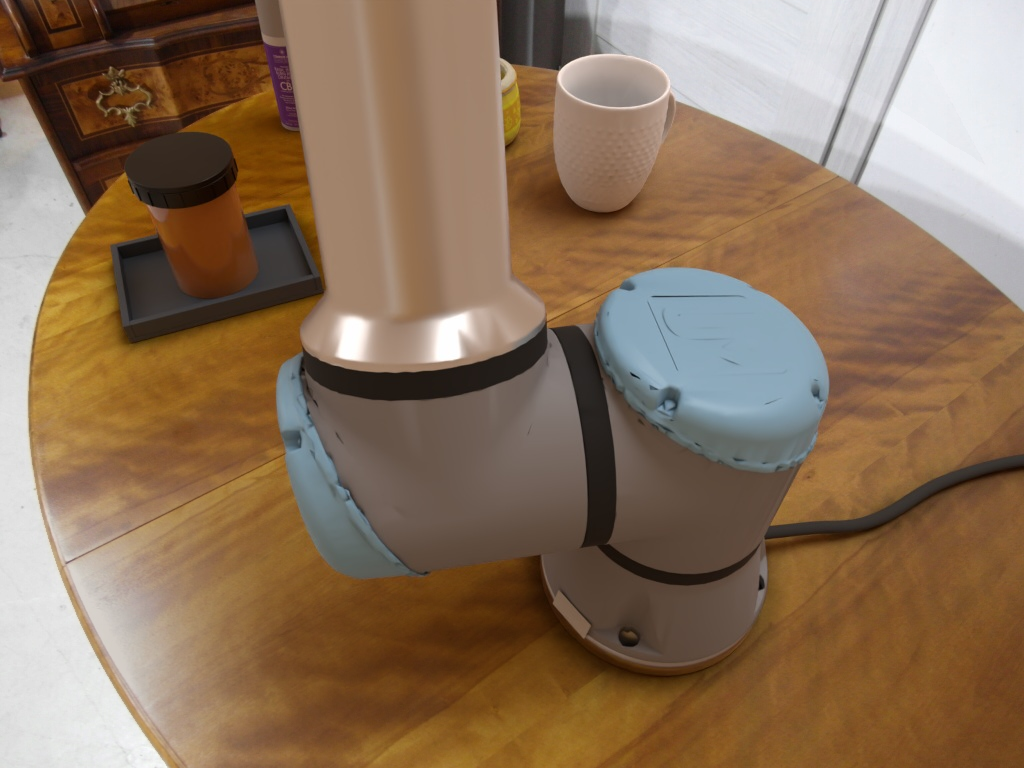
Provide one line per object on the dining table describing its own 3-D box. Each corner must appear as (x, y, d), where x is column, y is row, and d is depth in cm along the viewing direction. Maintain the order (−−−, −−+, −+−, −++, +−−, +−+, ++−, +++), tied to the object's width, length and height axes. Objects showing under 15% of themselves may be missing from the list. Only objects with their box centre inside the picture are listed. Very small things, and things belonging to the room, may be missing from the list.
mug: (626, 144, 90) (642, 32, 81) (696, 188, 85) (723, 72, 75) (528, 189, 84) (532, 73, 74) (597, 239, 78) (612, 121, 69)
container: (288, 135, 91) (259, 3, 79) (276, 117, 93) (246, -14, 82) (326, 125, 92) (303, -6, 81) (313, 107, 95) (289, -22, 84)
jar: (250, 239, 77) (219, 133, 68) (266, 286, 72) (235, 178, 64) (171, 258, 75) (128, 151, 66) (182, 307, 70) (138, 199, 61)
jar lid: (228, 143, 70) (222, 123, 68) (247, 195, 64) (241, 174, 63) (127, 164, 67) (118, 143, 66) (138, 219, 62) (129, 198, 61)
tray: (293, 219, 80) (289, 203, 78) (324, 292, 72) (320, 276, 71) (117, 261, 75) (109, 244, 74) (131, 343, 68) (122, 327, 66)
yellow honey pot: (537, 148, 90) (541, 45, 81) (449, 170, 86) (444, 65, 77) (491, 97, 97) (491, -2, 88) (409, 116, 94) (400, 15, 85)
